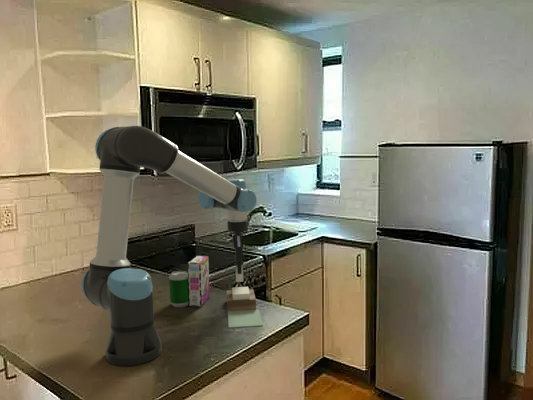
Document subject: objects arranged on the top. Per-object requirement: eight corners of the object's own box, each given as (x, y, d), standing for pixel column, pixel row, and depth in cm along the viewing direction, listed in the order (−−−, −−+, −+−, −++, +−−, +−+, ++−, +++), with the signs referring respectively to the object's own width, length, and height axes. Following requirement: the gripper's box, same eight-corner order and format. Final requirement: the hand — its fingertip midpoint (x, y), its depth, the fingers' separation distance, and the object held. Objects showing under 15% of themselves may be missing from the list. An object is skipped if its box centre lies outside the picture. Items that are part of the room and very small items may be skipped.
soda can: (189, 307, 165) (187, 275, 164) (168, 308, 165) (166, 276, 164) (192, 300, 173) (191, 269, 171) (172, 301, 173) (171, 270, 171)
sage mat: (262, 325, 147) (262, 324, 147) (228, 328, 146) (228, 327, 146) (258, 310, 161) (258, 309, 161) (227, 312, 160) (227, 311, 160)
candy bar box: (202, 307, 166) (200, 262, 164) (188, 306, 167) (187, 262, 165) (210, 296, 177) (208, 255, 175) (198, 296, 178) (196, 255, 176)
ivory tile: (249, 299, 161) (249, 293, 161) (232, 300, 161) (232, 294, 161) (248, 291, 169) (248, 286, 169) (232, 292, 169) (231, 287, 168)
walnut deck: (256, 310, 161) (255, 299, 161) (227, 312, 160) (227, 301, 160) (253, 299, 173) (253, 289, 172) (226, 300, 172) (226, 290, 171)
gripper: (248, 222, 166) (250, 285, 169) (246, 217, 179) (248, 275, 182) (227, 223, 165) (230, 287, 168) (226, 217, 178) (229, 276, 181)
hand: (239, 281), depth 175 cm, fingers closed
